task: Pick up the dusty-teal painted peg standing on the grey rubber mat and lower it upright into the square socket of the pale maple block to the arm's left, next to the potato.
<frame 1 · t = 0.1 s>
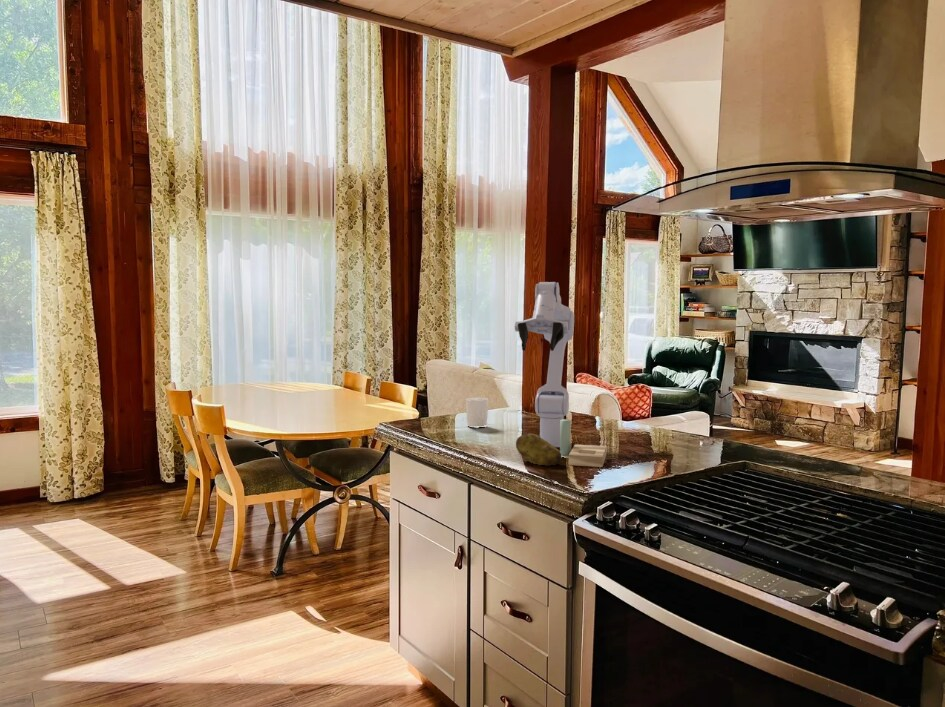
hand: (537, 348, 190), 32 cm above the countertop, tool tilted 50°, fingers open, 7 cm apart
white cup: (477, 427, 250), on the countertop
potato: (537, 464, 195), on the countertop
peg: (565, 454, 204), resting on mat
mat: (563, 455, 205), on the countertop
socket block: (588, 461, 198), on the countertop
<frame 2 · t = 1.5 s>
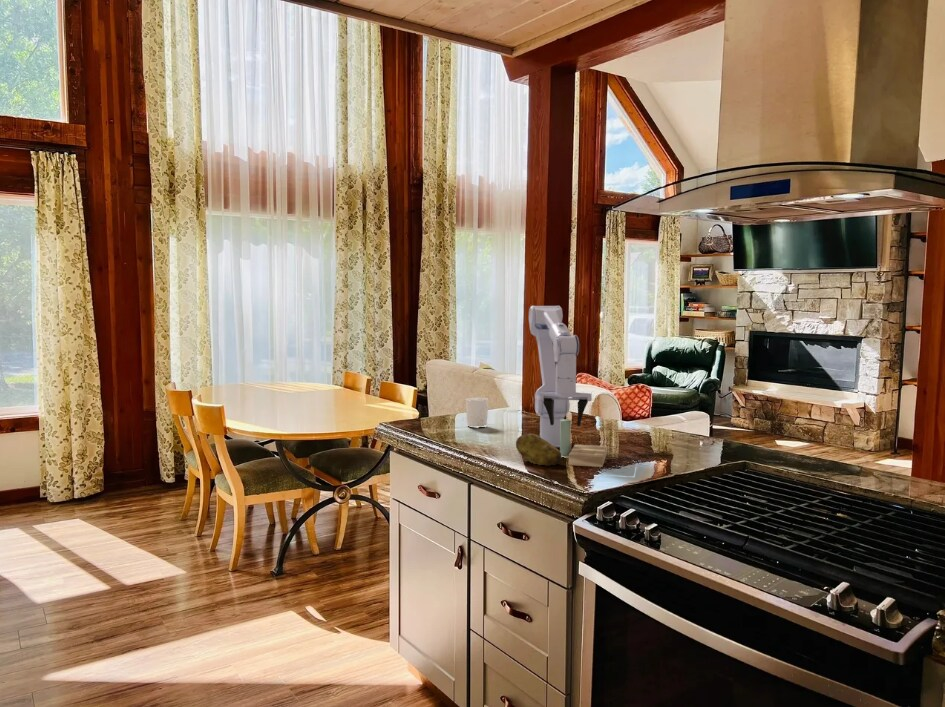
hand: (565, 425, 204), 9 cm above the countertop, tool pointing down, fingers open, 7 cm apart
nothing on the countertop moved.
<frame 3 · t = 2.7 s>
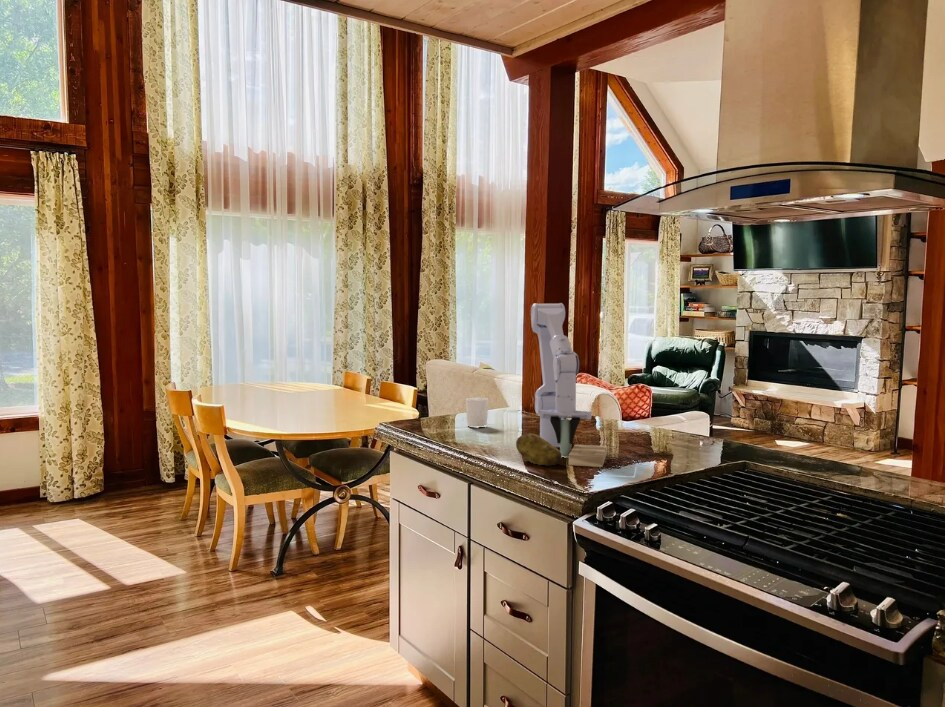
hand: (565, 443, 204), 4 cm above the countertop, tool pointing down, fingers closed on peg, 3 cm apart
peg: (565, 454, 204), resting on mat, touching gripper
everything else where it was.
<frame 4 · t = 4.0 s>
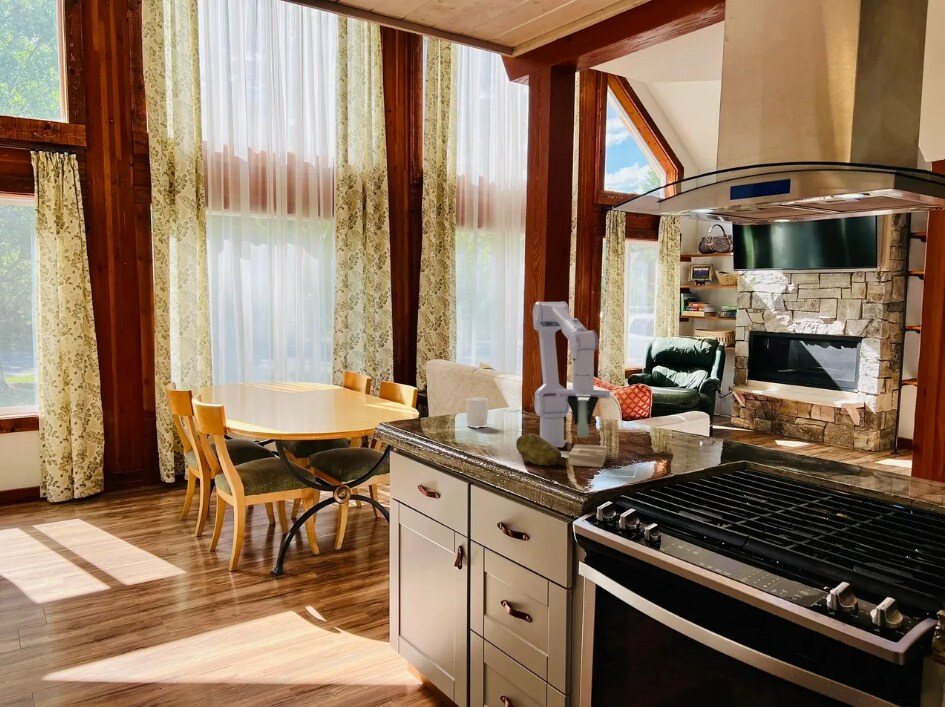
hand: (582, 423, 197), 11 cm above the countertop, tool pointing down, fingers closed on peg, 3 cm apart
peg: (582, 436, 197), point 7 cm above the countertop, touching gripper
everything else where it was.
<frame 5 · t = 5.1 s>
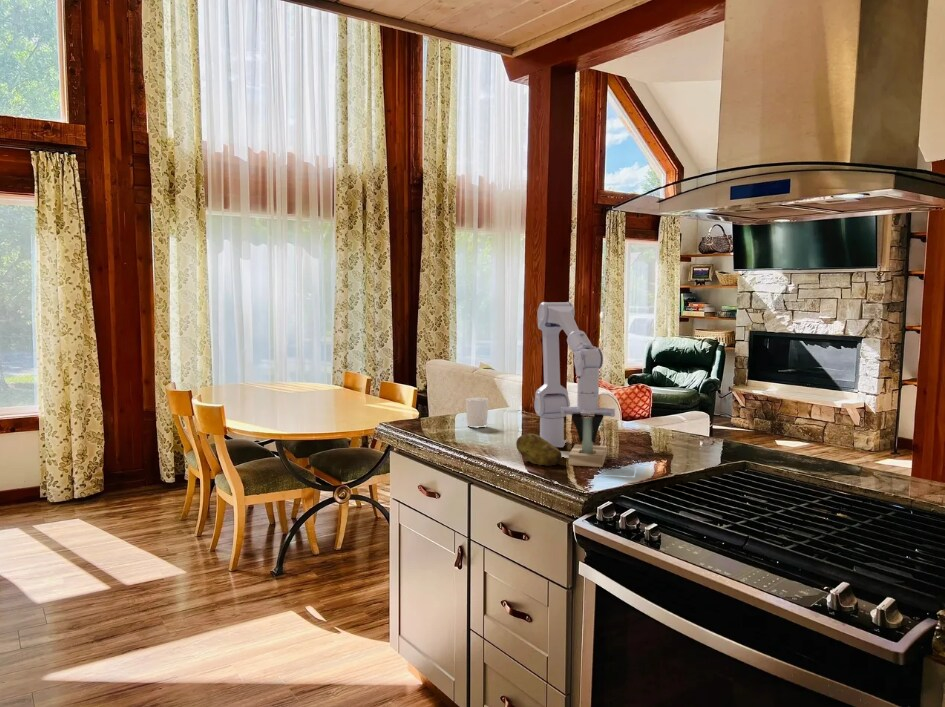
hand: (587, 441, 195), 6 cm above the countertop, tool pointing down, fingers closed on peg, 3 cm apart
peg: (587, 454, 196), point 2 cm above the countertop, touching gripper
everything else where it was.
when the fingers open (5 cm above the countertop, at t = 5.7 s): peg drops 1 cm, resting in socket block.
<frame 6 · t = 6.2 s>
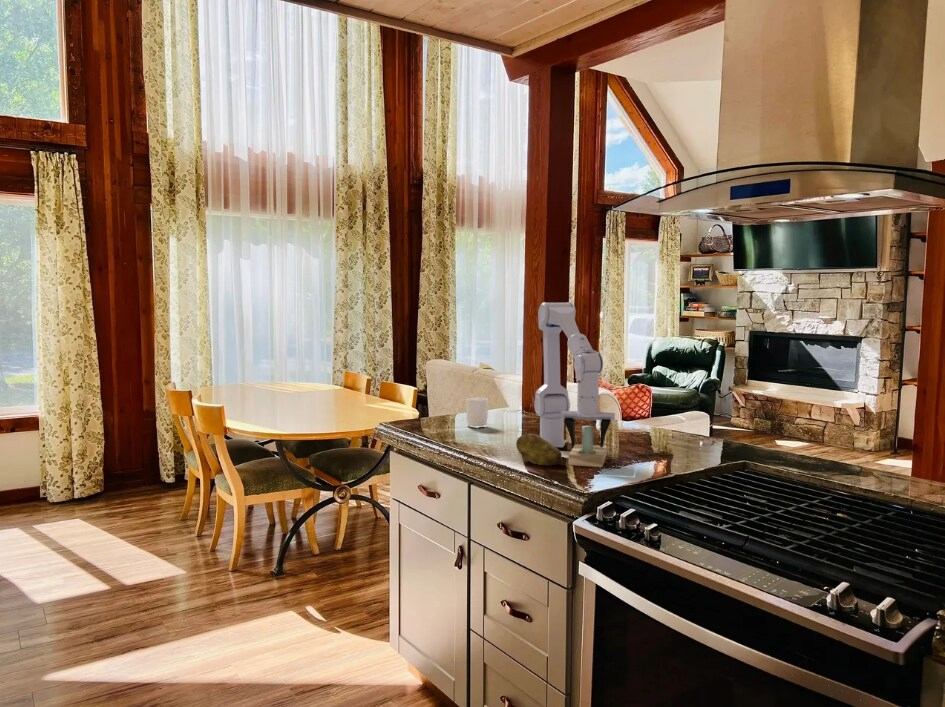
hand: (587, 445, 195), 5 cm above the countertop, tool pointing down, fingers open, 7 cm apart
peg: (587, 462, 196), resting in socket block
everything else where it was.
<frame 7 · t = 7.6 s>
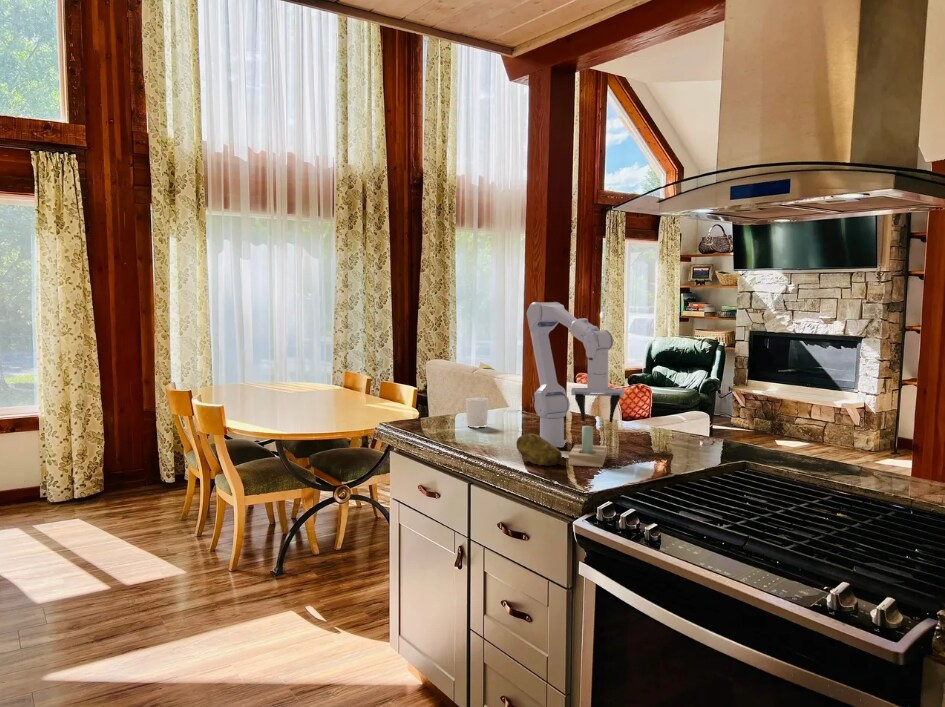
hand: (597, 421, 201), 10 cm above the countertop, tool pointing down, fingers open, 7 cm apart
nothing on the countertop moved.
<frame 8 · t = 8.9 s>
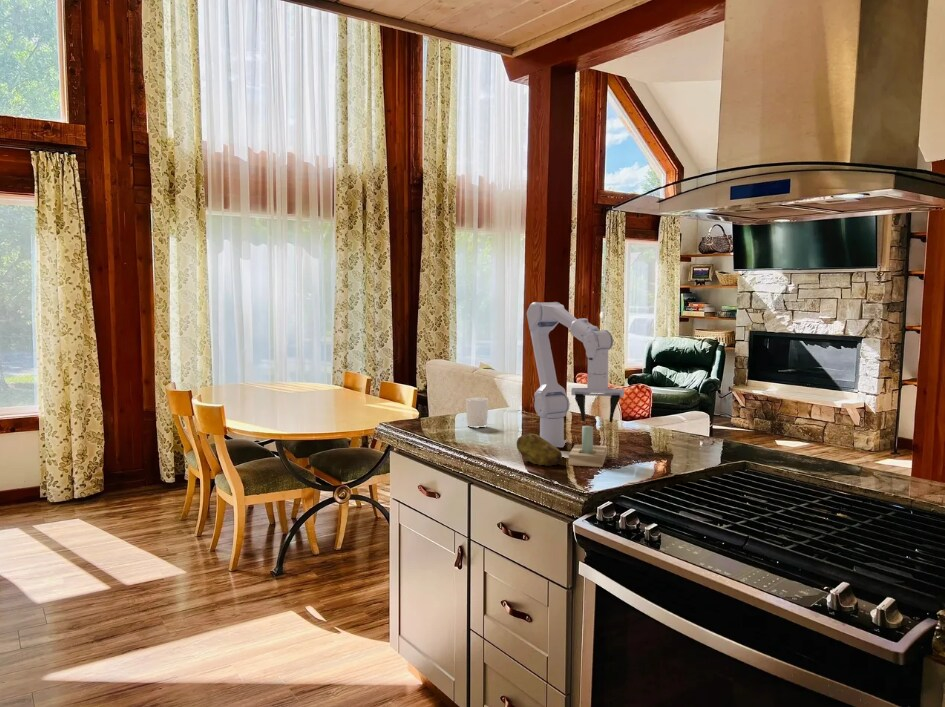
hand: (597, 421, 201), 10 cm above the countertop, tool pointing down, fingers open, 7 cm apart
nothing on the countertop moved.
at the end: peg 0.0 cm from the target spot on the socket block, point 0.0 cm above the socket block's base; peg tilted 0°; the gripper is holding nothing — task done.
